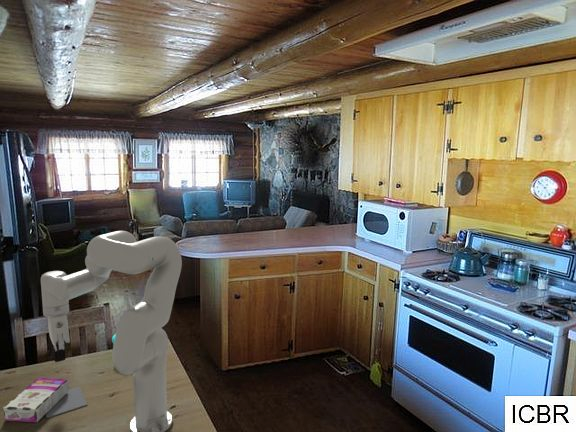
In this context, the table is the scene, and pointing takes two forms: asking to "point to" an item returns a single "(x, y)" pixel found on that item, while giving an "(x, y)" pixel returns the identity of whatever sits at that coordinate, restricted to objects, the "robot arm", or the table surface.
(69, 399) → the rubber mat
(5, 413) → the candy bar box
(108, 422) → the table surface
